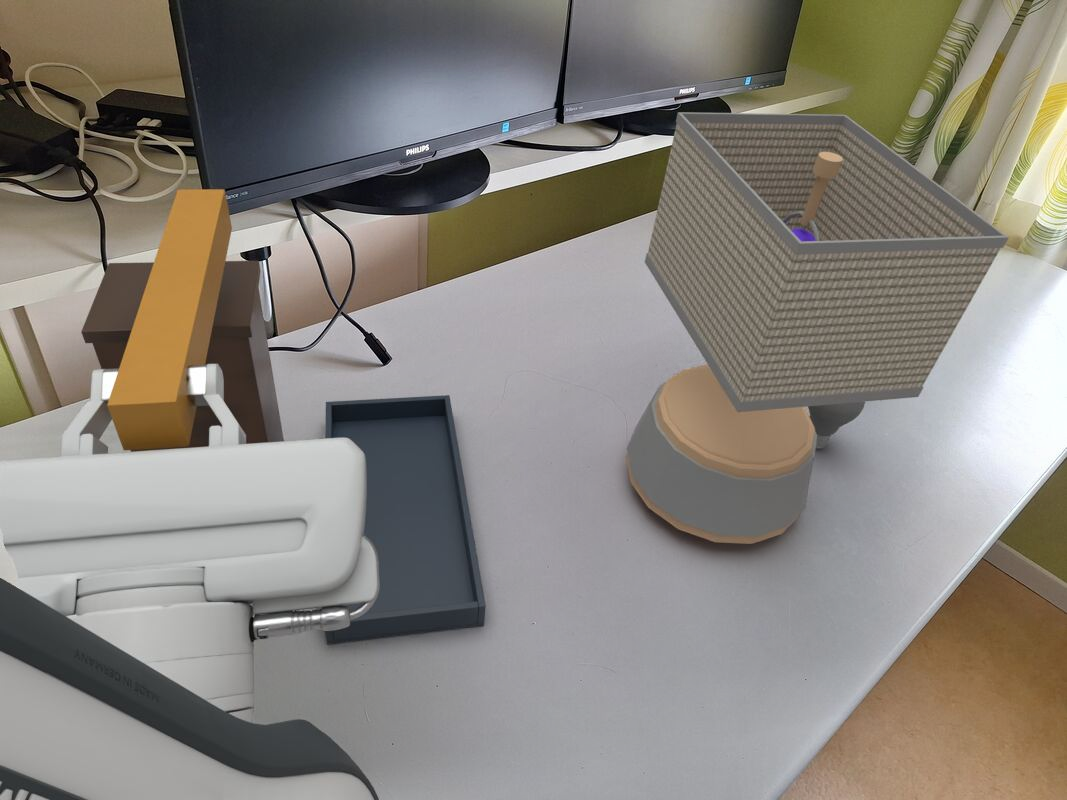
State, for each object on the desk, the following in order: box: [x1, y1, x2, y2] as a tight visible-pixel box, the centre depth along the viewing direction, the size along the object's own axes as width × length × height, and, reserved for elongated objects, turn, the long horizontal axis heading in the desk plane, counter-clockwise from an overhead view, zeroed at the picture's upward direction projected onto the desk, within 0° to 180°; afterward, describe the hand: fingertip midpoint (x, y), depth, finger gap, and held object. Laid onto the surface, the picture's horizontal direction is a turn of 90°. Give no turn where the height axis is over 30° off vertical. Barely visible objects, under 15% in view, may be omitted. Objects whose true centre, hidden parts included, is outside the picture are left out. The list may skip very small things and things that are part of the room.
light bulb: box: [807, 402, 866, 449], centre depth 85 cm, size 6×6×10 cm
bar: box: [107, 188, 233, 452], centre depth 45 cm, size 3×22×3 cm, turn 11°
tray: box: [324, 394, 487, 645], centre depth 73 cm, size 13×27×3 cm, turn 12°
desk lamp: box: [625, 111, 1010, 545], centre depth 69 cm, size 22×19×37 cm
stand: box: [81, 260, 285, 452], centre depth 63 cm, size 11×9×26 cm
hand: (159, 369), depth 39 cm, fingers closed on bar, 3 cm apart
